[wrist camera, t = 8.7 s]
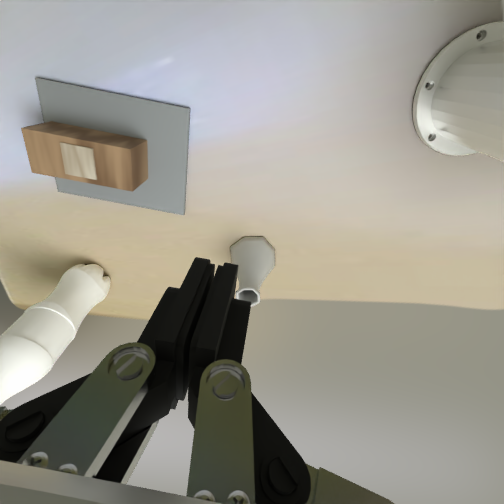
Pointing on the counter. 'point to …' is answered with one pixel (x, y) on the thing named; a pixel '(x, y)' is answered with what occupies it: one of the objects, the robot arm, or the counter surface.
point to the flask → (252, 266)
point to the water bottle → (48, 328)
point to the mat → (133, 125)
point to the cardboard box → (87, 155)
